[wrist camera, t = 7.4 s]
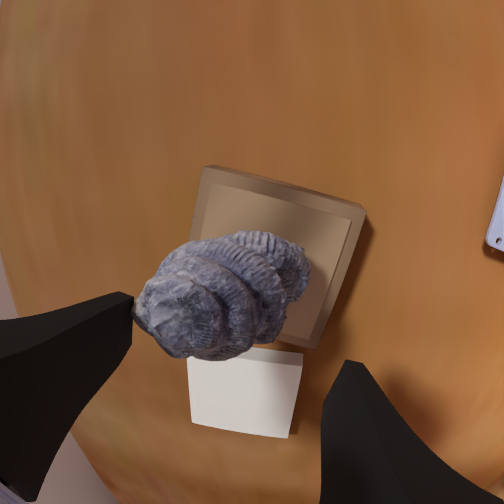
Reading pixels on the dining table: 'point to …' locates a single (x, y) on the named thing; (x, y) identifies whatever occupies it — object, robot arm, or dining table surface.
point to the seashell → (222, 294)
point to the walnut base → (285, 235)
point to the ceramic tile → (246, 391)
